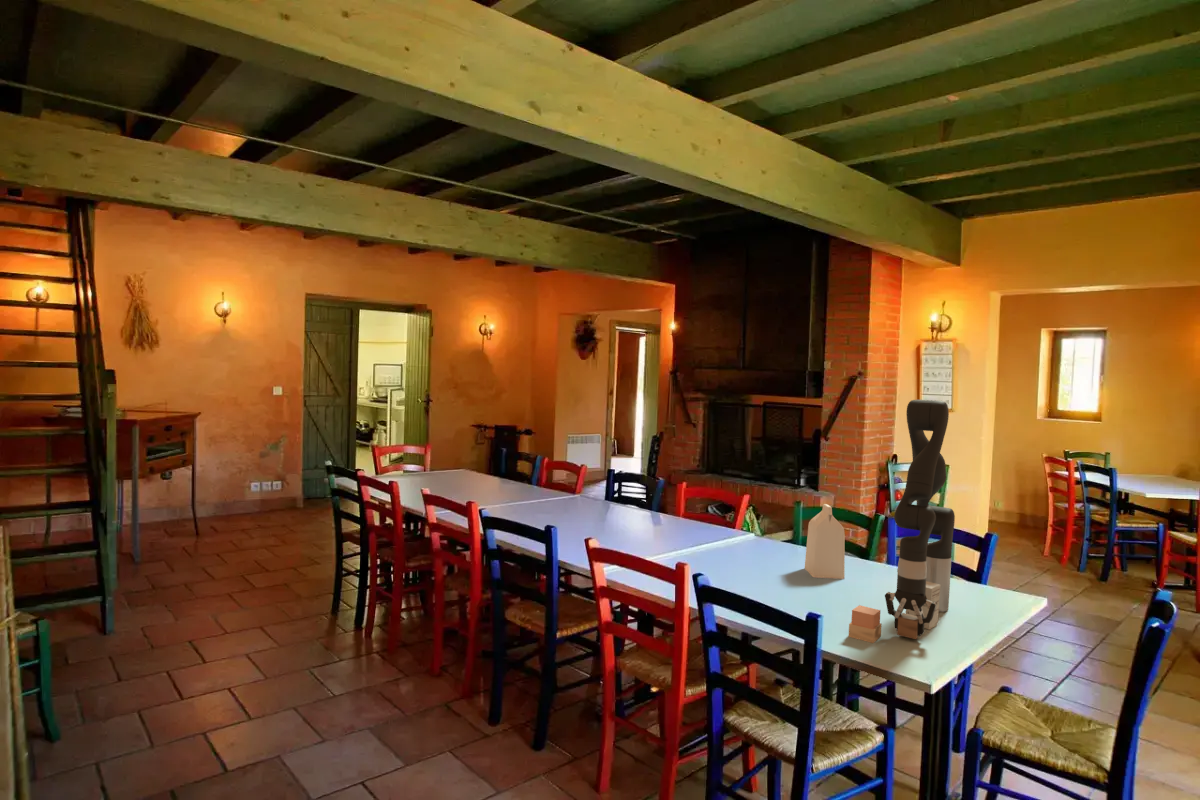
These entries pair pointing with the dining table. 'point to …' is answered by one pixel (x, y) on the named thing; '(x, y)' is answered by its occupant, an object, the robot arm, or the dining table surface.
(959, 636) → the dining table surface
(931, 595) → the supplement box
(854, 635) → the tower base
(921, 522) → the robot arm
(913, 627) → the walnut cube
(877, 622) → the tower
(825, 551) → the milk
